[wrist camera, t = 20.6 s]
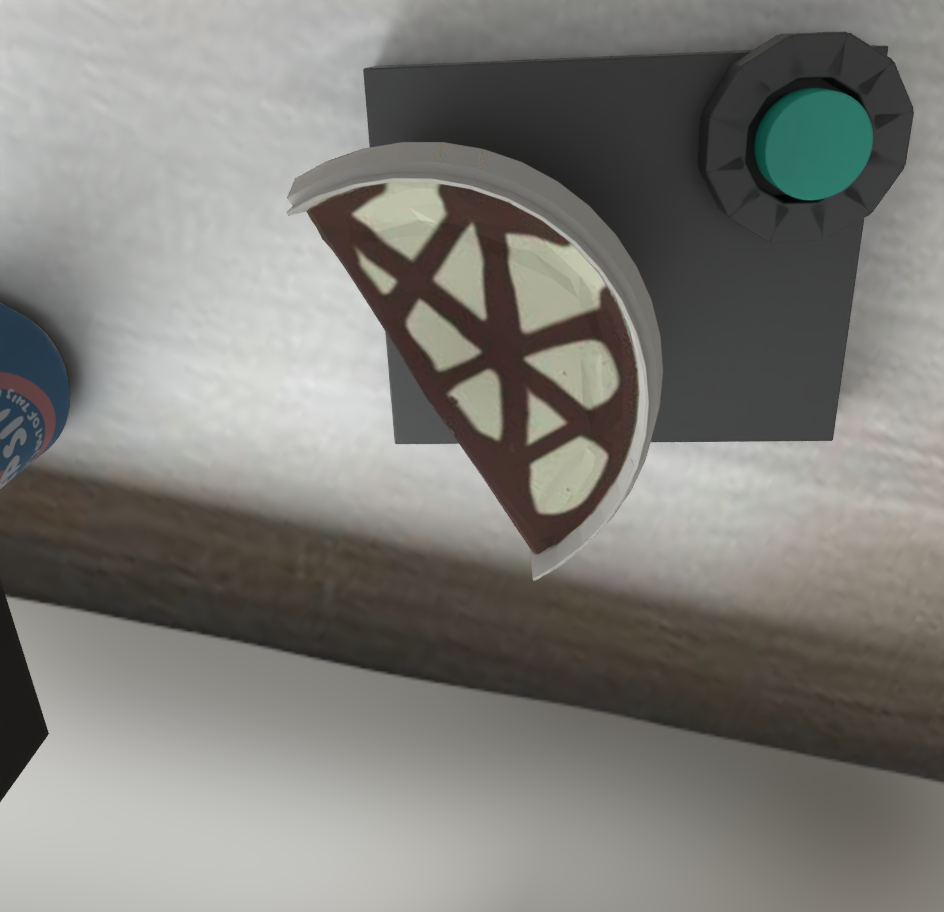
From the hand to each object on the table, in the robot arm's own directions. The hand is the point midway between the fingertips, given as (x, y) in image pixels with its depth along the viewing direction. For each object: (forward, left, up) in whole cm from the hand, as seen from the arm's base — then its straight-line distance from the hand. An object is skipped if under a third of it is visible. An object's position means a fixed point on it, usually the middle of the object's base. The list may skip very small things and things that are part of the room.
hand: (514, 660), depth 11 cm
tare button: (-8, -4, -20) cm, 22 cm away
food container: (0, 0, -22) cm, 22 cm away
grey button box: (-3, 0, -23) cm, 23 cm away
